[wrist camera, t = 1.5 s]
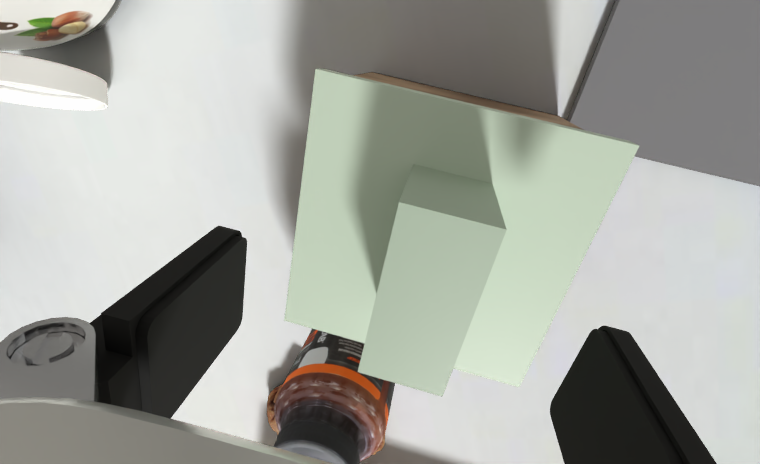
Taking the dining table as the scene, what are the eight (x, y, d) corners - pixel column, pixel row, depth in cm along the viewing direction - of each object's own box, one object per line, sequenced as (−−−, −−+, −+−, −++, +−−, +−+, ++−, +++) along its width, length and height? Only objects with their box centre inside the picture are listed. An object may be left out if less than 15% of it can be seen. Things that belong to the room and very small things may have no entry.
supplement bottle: (322, 278, 27) (241, 413, 17) (408, 290, 26) (378, 439, 16) (323, 347, 29) (253, 500, 19) (402, 360, 29) (372, 528, 18)
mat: (1005, -102, 15) (1027, -108, 14) (795, 193, 20) (805, 197, 19) (680, -161, 16) (689, -169, 15) (560, 137, 21) (562, 139, 20)
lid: (612, 132, 14) (716, 182, 9) (512, 351, 19) (537, 477, 13) (334, 67, 15) (262, 72, 9) (302, 292, 20) (240, 388, 14)
